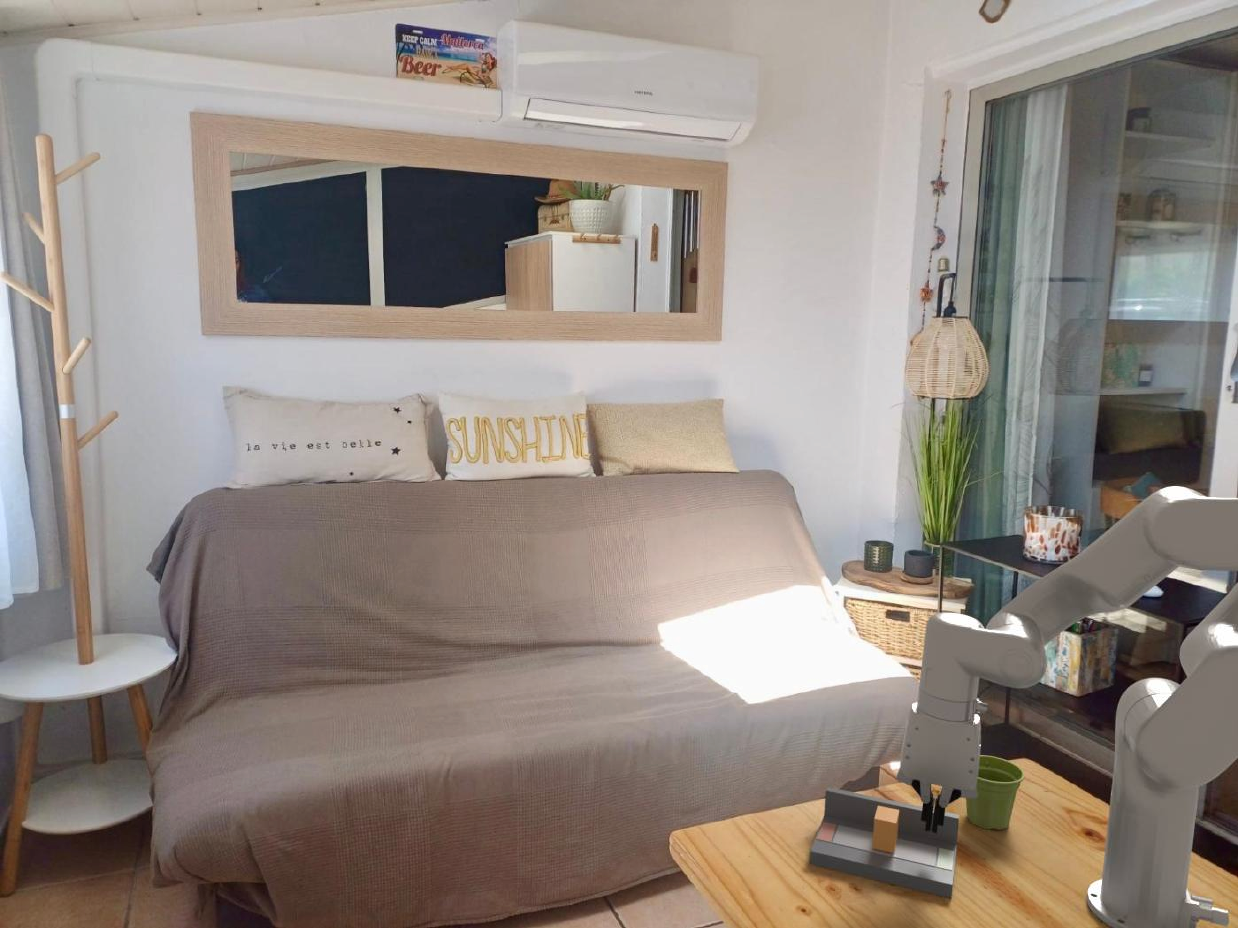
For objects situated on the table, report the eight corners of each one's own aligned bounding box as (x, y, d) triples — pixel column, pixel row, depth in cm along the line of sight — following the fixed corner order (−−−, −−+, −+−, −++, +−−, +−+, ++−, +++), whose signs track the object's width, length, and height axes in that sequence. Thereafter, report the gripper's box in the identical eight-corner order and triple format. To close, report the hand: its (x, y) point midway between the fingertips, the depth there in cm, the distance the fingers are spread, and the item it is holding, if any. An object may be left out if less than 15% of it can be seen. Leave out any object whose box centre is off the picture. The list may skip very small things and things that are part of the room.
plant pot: (944, 818, 144) (948, 766, 142) (972, 799, 150) (977, 748, 149) (1002, 843, 137) (1007, 789, 136) (1030, 822, 143) (1035, 770, 142)
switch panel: (956, 852, 134) (959, 814, 133) (951, 898, 123) (954, 856, 122) (824, 823, 141) (827, 786, 140) (809, 863, 130) (811, 824, 129)
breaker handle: (897, 839, 133) (899, 809, 132) (894, 853, 129) (896, 823, 129) (875, 834, 134) (878, 805, 134) (872, 847, 130) (874, 818, 130)
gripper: (1005, 705, 127) (989, 828, 129) (893, 683, 132) (880, 801, 135) (1005, 726, 120) (988, 855, 123) (887, 702, 125) (873, 826, 128)
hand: (931, 827), depth 129 cm, fingers closed
